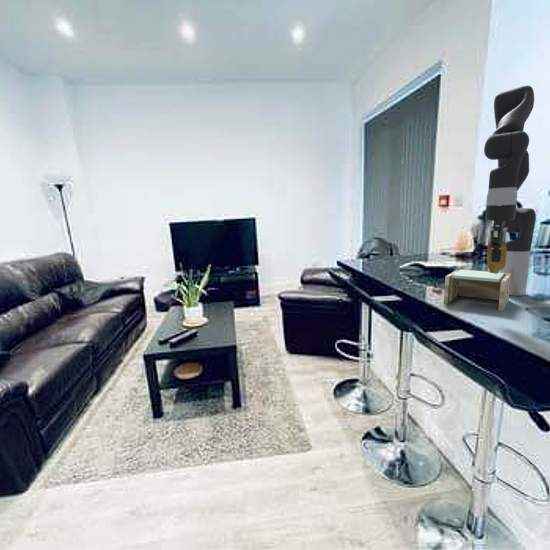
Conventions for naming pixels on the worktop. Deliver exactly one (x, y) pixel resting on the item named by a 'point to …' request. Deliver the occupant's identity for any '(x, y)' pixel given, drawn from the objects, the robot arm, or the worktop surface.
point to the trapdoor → (478, 275)
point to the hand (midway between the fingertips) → (496, 261)
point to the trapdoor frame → (478, 289)
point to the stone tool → (497, 266)
